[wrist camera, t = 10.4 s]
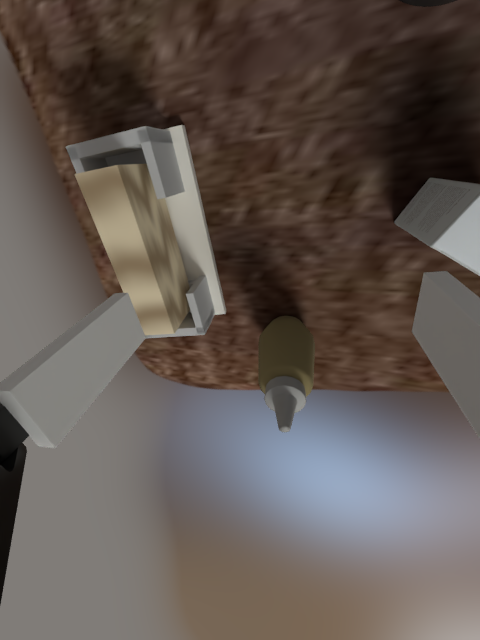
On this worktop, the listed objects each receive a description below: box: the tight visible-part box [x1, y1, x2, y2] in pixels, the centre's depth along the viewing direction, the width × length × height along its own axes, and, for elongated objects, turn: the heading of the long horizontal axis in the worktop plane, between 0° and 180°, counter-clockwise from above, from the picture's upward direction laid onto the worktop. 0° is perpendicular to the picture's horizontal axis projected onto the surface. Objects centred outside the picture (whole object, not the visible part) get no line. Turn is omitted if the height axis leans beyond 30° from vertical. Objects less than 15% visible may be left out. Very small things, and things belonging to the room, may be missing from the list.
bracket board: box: [66, 125, 226, 338], centre depth 35 cm, size 24×12×7 cm, turn 10°
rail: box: [75, 164, 190, 335], centre depth 32 cm, size 18×4×8 cm, turn 10°
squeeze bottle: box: [259, 315, 315, 432], centre depth 35 cm, size 8×8×18 cm
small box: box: [394, 178, 480, 276], centre depth 27 cm, size 8×6×10 cm
